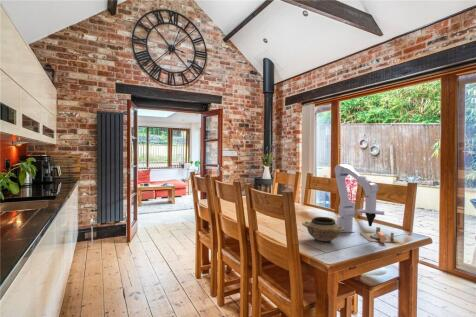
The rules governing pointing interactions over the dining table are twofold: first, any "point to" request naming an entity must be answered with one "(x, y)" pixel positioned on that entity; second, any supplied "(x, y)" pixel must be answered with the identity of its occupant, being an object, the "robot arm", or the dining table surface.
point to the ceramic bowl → (323, 229)
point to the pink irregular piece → (379, 236)
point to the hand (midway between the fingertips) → (370, 225)
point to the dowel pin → (392, 236)
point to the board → (370, 239)
